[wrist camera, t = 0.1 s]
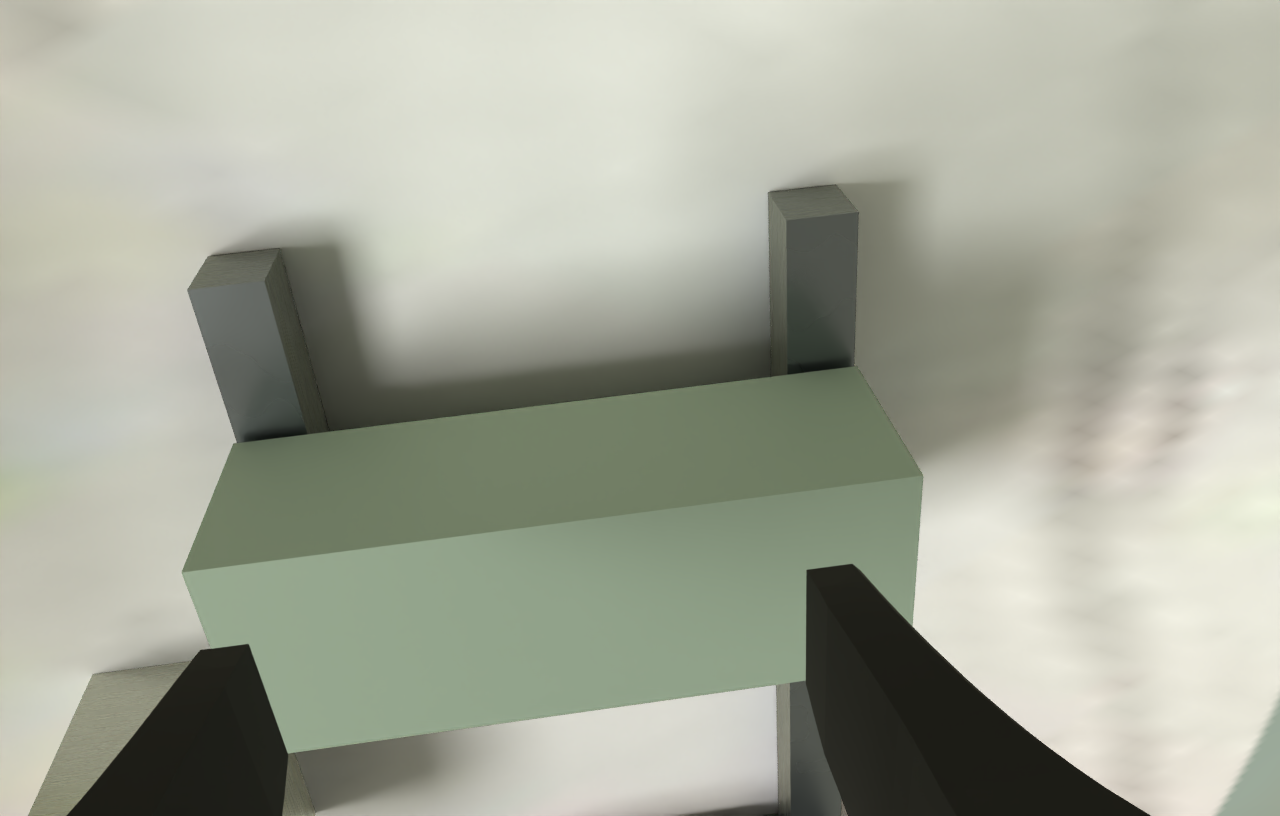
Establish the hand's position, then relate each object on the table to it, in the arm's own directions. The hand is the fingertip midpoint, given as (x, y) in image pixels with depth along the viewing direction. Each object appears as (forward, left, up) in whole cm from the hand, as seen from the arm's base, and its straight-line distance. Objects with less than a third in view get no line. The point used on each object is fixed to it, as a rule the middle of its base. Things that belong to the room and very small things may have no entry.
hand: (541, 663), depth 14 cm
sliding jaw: (-3, 0, -10) cm, 10 cm away
